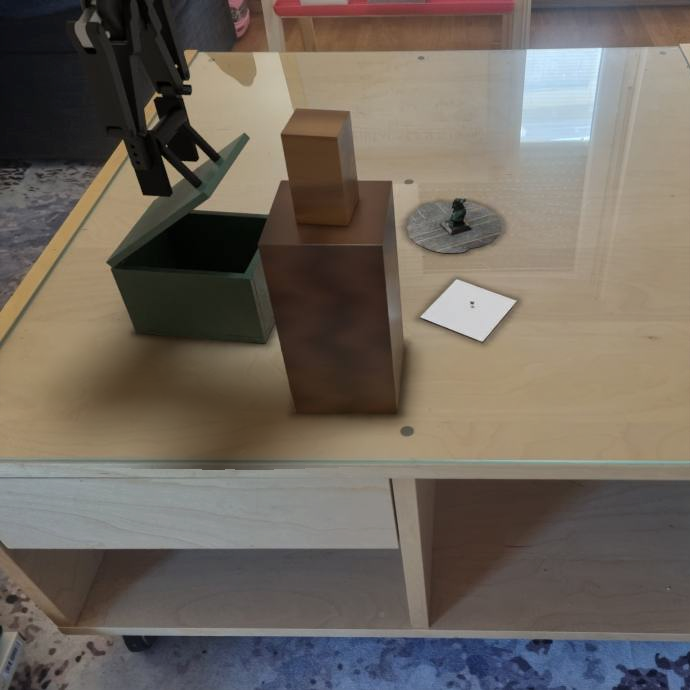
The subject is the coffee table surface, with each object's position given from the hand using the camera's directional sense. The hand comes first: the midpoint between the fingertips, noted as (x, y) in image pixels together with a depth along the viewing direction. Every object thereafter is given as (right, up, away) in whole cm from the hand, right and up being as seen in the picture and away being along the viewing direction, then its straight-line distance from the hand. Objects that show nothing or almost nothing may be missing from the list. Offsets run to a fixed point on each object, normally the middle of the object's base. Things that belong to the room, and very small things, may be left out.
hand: (172, 175), depth 74 cm
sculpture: (+28, -2, +23) cm, 36 cm away
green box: (+1, -12, +11) cm, 17 cm away
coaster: (+30, -13, +10) cm, 34 cm away
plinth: (+18, -20, +2) cm, 27 cm away
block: (+18, -5, -11) cm, 21 cm away
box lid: (0, -2, +2) cm, 3 cm away
